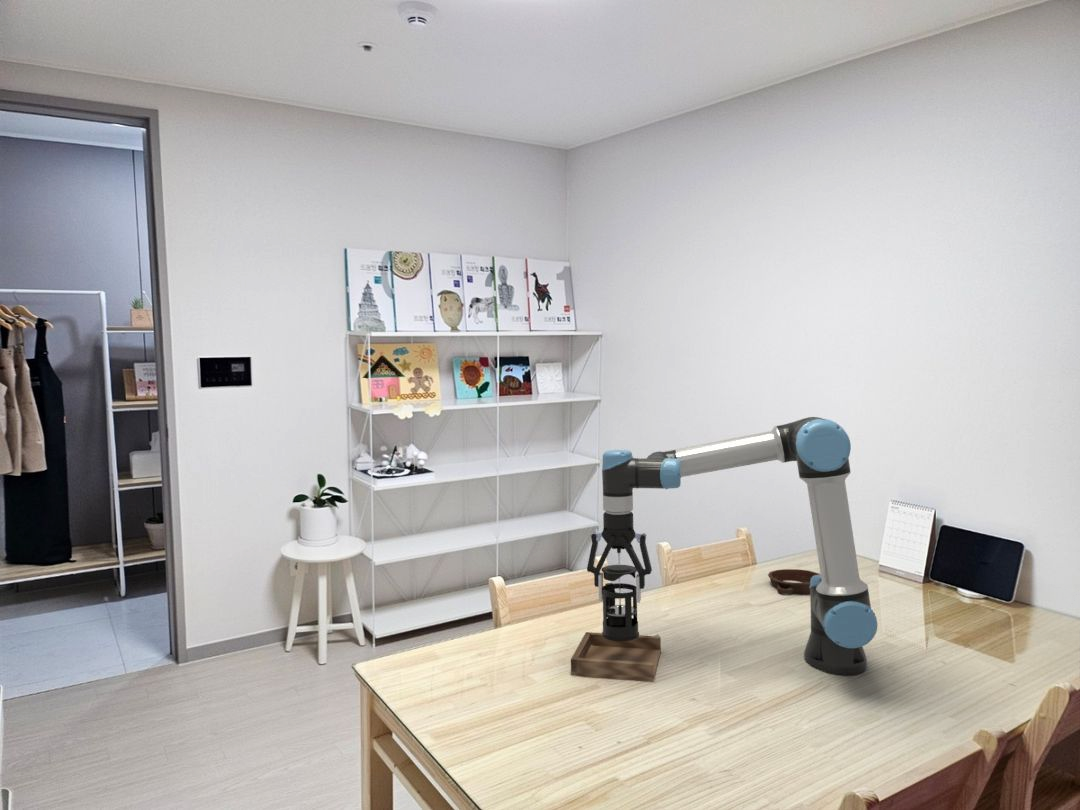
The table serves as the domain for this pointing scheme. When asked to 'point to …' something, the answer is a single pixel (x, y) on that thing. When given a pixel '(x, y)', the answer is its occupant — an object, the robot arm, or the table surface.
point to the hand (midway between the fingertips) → (619, 600)
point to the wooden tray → (617, 658)
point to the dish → (791, 575)
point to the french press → (619, 616)
